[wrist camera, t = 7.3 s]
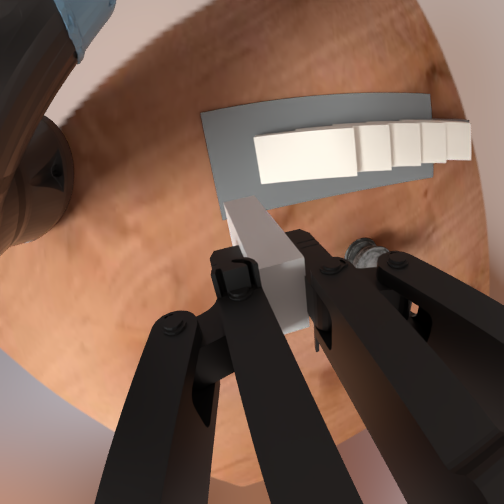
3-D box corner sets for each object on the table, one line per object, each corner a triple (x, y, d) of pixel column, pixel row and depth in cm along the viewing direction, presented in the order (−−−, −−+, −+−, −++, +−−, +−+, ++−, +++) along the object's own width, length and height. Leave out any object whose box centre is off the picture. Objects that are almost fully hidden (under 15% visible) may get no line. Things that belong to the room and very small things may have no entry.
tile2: (301, 176, 32) (391, 170, 30) (295, 130, 30) (389, 124, 27) (301, 172, 33) (387, 166, 31) (295, 128, 31) (385, 123, 29)
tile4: (371, 164, 33) (446, 163, 31) (368, 122, 31) (445, 123, 28) (369, 161, 34) (441, 160, 32) (365, 121, 32) (440, 121, 30)
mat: (222, 219, 34) (222, 220, 34) (200, 113, 29) (200, 113, 28) (431, 176, 38) (433, 177, 37) (428, 93, 32) (429, 94, 32)
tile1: (261, 184, 32) (357, 176, 29) (253, 137, 29) (353, 127, 27) (263, 180, 33) (355, 172, 31) (255, 135, 31) (351, 126, 28)
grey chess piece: (379, 231, 40) (434, 273, 29) (377, 268, 42) (426, 315, 32) (342, 240, 39) (393, 288, 28) (342, 278, 42) (386, 331, 31)
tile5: (405, 160, 33) (471, 160, 31) (403, 120, 31) (470, 123, 29) (401, 157, 35) (465, 157, 32) (399, 119, 32) (465, 121, 30)
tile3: (338, 169, 32) (420, 165, 30) (333, 125, 30) (419, 123, 28) (336, 166, 34) (416, 162, 32) (332, 124, 32) (414, 121, 29)
